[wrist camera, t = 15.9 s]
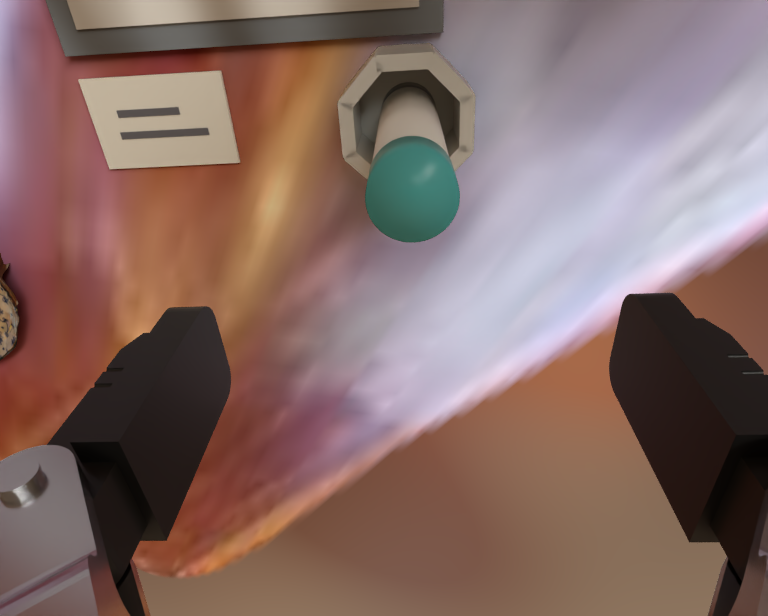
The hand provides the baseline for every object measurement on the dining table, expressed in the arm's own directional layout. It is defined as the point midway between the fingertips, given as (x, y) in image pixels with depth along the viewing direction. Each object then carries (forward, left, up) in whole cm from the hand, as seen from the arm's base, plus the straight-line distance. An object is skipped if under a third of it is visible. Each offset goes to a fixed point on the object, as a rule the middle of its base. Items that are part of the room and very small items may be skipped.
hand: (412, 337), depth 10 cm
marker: (0, 0, -21) cm, 21 cm away
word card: (+14, 0, -22) cm, 26 cm away
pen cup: (0, 0, -22) cm, 22 cm away
